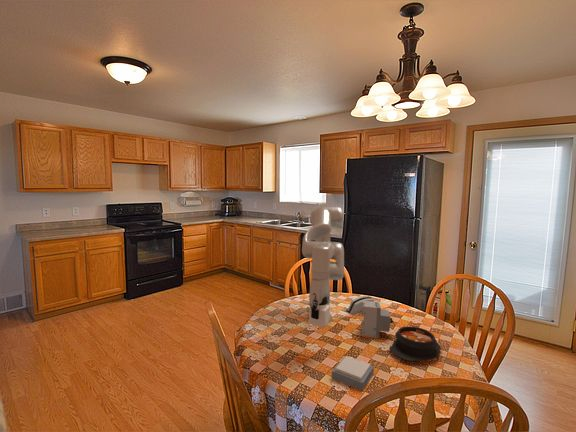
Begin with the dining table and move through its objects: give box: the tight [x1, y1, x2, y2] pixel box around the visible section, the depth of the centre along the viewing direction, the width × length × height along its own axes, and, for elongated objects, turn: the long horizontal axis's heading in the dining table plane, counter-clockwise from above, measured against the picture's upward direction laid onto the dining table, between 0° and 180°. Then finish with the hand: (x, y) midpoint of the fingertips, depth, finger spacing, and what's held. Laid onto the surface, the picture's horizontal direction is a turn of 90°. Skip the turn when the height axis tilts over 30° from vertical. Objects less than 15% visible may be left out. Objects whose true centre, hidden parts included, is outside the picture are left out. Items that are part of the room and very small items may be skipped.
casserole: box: [388, 325, 442, 362], centre depth 132 cm, size 25×19×8 cm
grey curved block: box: [345, 295, 376, 315], centre depth 175 cm, size 17×5×10 cm, turn 119°
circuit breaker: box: [360, 301, 394, 339], centre depth 147 cm, size 8×14×15 cm, turn 78°
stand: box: [331, 355, 375, 391], centre depth 114 cm, size 12×12×4 cm
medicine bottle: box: [308, 296, 331, 328], centre depth 128 cm, size 7×7×12 cm
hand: (319, 314), depth 128 cm, fingers closed on medicine bottle, 7 cm apart
